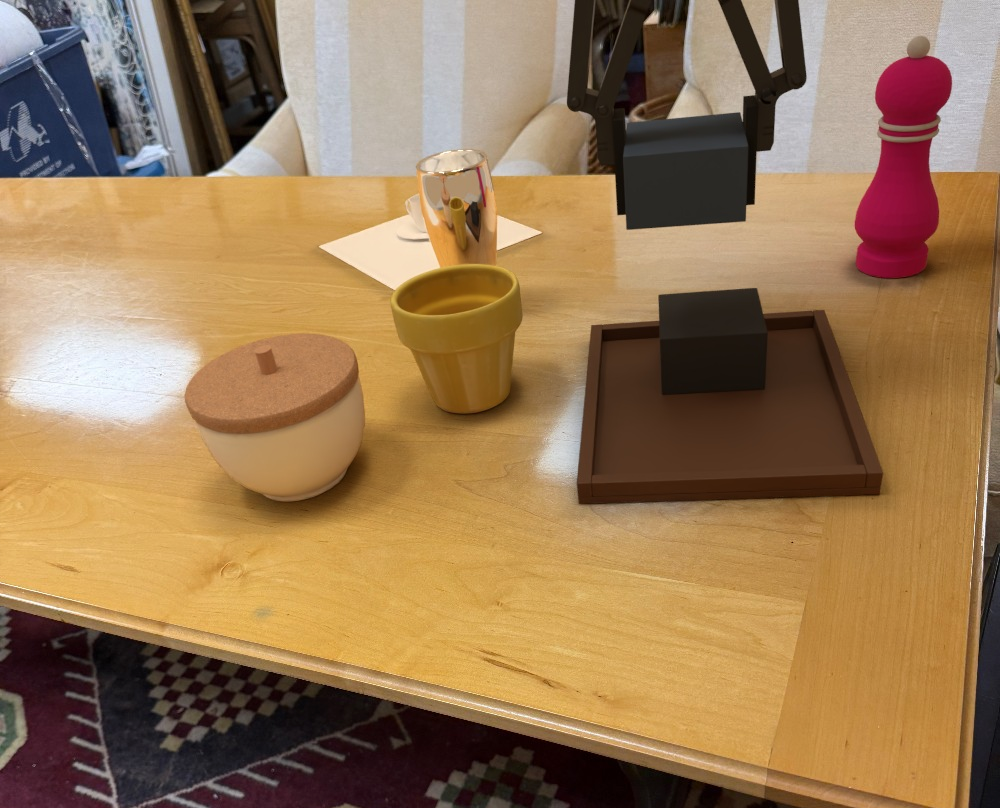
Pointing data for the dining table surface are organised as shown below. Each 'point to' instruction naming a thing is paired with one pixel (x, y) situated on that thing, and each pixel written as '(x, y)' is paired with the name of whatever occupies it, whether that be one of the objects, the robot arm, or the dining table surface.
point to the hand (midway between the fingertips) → (684, 203)
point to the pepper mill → (903, 166)
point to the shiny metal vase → (459, 207)
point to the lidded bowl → (281, 413)
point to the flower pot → (461, 332)
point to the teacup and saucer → (406, 246)
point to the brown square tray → (723, 423)
